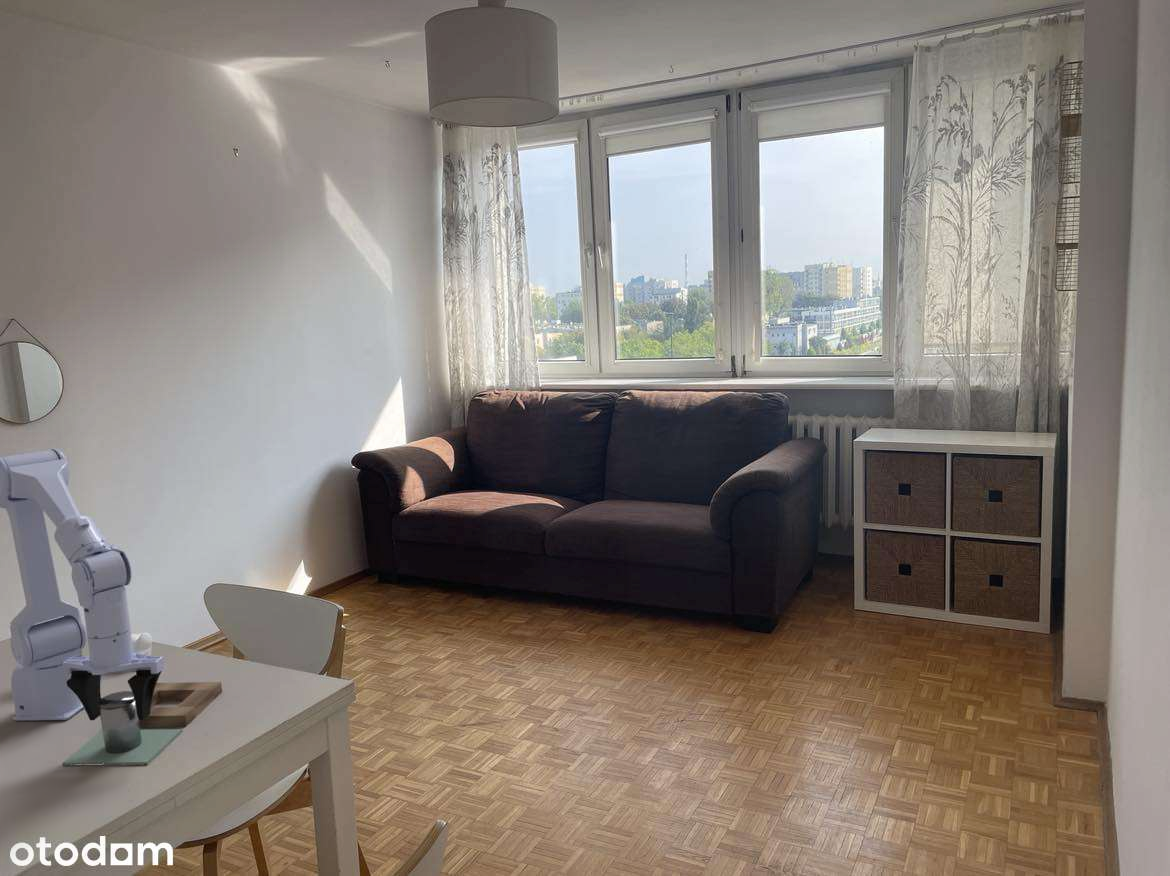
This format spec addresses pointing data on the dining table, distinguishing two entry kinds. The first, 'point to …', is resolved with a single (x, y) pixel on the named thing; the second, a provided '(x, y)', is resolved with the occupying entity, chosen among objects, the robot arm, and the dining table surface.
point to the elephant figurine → (142, 643)
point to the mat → (142, 754)
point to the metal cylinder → (120, 722)
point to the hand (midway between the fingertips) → (120, 717)
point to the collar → (185, 712)
